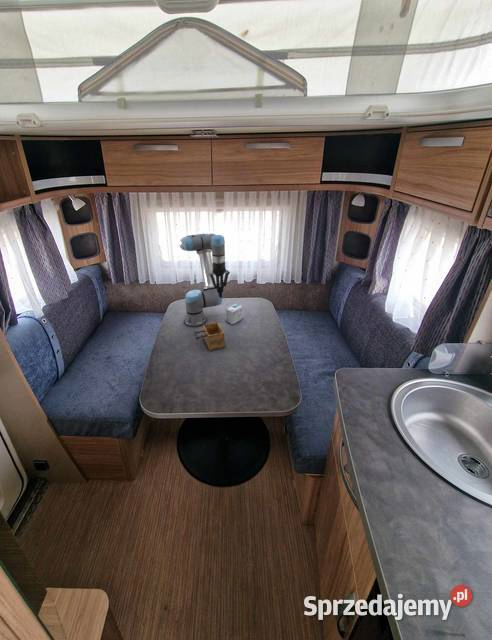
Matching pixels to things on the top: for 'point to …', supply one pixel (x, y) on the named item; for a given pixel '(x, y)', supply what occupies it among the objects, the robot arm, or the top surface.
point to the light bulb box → (234, 313)
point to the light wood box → (212, 335)
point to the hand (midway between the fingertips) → (220, 296)
